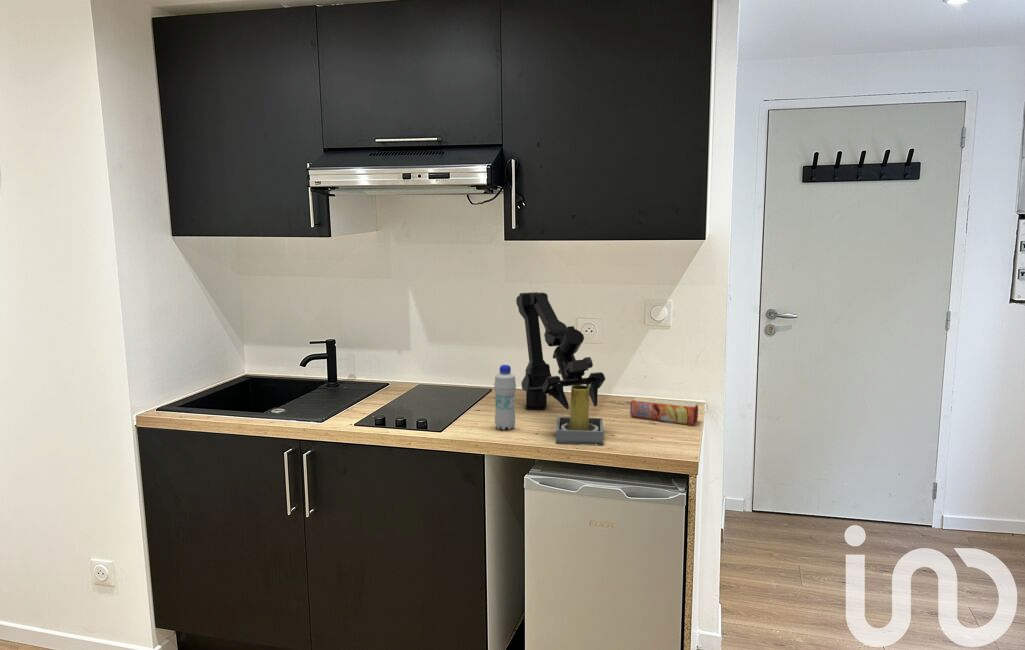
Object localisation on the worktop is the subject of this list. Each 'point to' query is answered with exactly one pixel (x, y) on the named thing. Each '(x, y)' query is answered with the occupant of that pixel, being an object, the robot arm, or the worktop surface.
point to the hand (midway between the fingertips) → (582, 407)
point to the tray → (579, 433)
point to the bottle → (505, 398)
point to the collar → (591, 427)
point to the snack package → (664, 410)
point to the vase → (579, 408)
